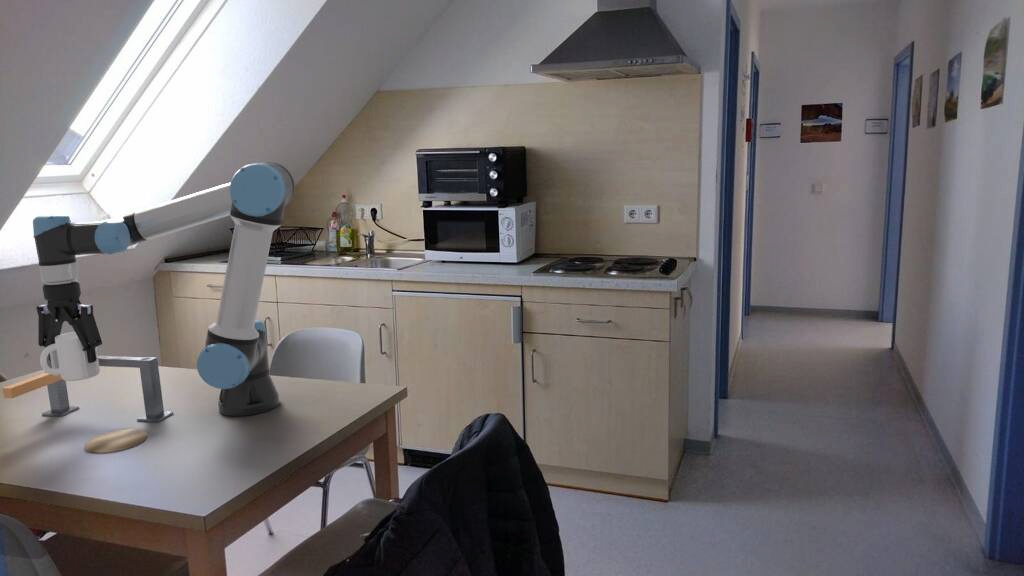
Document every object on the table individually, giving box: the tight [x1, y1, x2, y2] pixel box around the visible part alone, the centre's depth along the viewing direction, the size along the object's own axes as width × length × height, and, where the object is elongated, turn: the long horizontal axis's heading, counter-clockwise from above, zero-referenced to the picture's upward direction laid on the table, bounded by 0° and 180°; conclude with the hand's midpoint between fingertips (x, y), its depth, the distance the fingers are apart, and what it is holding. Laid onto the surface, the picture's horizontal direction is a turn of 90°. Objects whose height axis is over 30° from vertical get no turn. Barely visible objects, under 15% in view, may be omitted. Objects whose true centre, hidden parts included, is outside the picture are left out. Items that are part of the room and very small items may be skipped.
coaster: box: [84, 428, 148, 454], centre depth 177 cm, size 13×13×1 cm
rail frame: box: [41, 355, 174, 423], centre depth 195 cm, size 35×6×16 cm, turn 77°
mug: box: [39, 331, 101, 382], centre depth 180 cm, size 12×8×10 cm
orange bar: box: [1, 372, 62, 399], centre depth 187 cm, size 5×23×6 cm, turn 166°
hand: (75, 375), depth 180 cm, fingers closed on mug, 8 cm apart
